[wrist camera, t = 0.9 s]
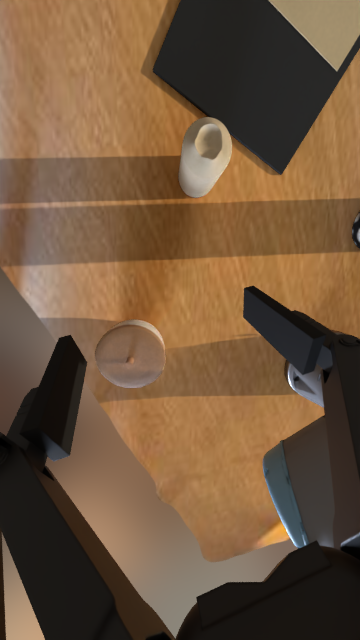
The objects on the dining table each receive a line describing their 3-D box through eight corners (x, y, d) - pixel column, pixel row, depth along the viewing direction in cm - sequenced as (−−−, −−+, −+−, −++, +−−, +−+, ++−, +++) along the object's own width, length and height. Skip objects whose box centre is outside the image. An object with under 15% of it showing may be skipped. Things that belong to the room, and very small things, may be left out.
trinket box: (109, 308, 35) (90, 326, 26) (169, 315, 36) (170, 335, 28) (108, 360, 39) (90, 392, 30) (162, 365, 40) (161, 398, 31)
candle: (215, 195, 31) (237, 169, 21) (180, 200, 31) (187, 176, 21) (212, 152, 29) (235, 103, 19) (175, 158, 29) (180, 111, 19)
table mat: (401, -22, 24) (406, -27, 24) (280, 175, 30) (282, 173, 30) (264, -202, 20) (266, -213, 19) (152, 71, 26) (152, 68, 25)
